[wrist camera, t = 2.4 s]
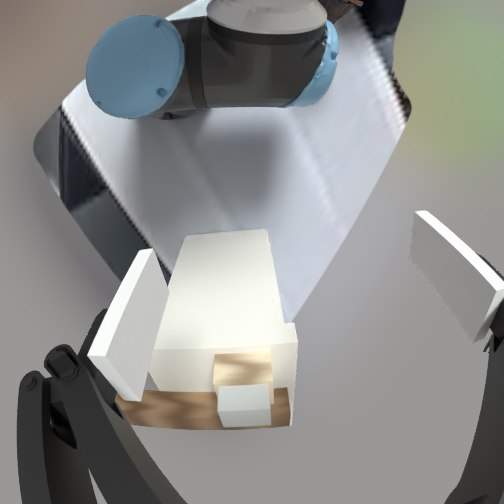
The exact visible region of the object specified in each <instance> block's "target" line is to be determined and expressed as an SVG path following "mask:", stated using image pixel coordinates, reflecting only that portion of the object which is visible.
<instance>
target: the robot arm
mask: <svg viewBox="0 0 504 504" xmlns="http://www.w3.org/2000/svg"><path fill="white" fill-rule="evenodd" d="M206 12H207V16H202V17H193V18H184V19H177V20H171V21H168V20H166V19H163V18H161V17H158V16H150V15H138V16H132V17H129V18H126V19H123V20H121V21H119V22H118V23H116V24H115V25H113V26H111V27H110V28H109V29H108V30H107V31H106V32H105V33H104V34H103V35H102V36H101V37H100V39H99V41H98V43H97V44H96V45H95V46H94V47H93V49H92V51H91V54H90V55H89V58H88V62H87V66H86V85H87V89H88V92H89V95H90V97H91V99H92V100H93V102H94V103H95V105H97V106H98V107H99V108H100V109H101V110H102V111H103V112H105V113H107V114H109V115H111V116H115V117H119V118H127V119H138V118H142V117H145V116H147V115H150V116H152V117H154V118H157V119H161V120H179V119H183V118H186V117H189V116H192V115H194V114H195V113H197V112H199V111H200V110H202V109H203V108H220V107H278V108H286V107H290V106H309V105H312V104H314V103H316V102H318V101H319V100H320V99H321V98H322V97H323V96H324V95H325V93H326V92H327V90H328V88H329V87H330V85H331V82H332V80H333V77H334V74H335V71H336V67H337V62H336V56H337V54H338V52H339V41H338V35H337V31H336V29H335V27H334V25H333V24H332V23H331V22H330V21H329V20H327V12H326V10H325V8H324V7H323V6H322V5H321V4H320V3H319V2H318V1H317V0H211V1H210V2H209V3H208V5H207V8H206ZM409 259H410V260H411V261H412V262H413V264H414V265H415V266H416V267H417V268H418V270H419V271H420V272H421V273H422V275H423V276H424V277H425V278H426V280H427V281H428V282H429V283H430V285H431V286H432V287H433V289H434V290H435V291H436V293H437V294H438V295H439V296H440V298H441V299H442V301H443V302H444V303H445V305H446V306H447V307H448V309H449V310H450V312H451V313H452V314H453V316H454V317H455V319H456V320H457V321H458V323H459V324H460V326H461V327H462V329H463V330H464V332H465V333H466V335H467V336H468V338H469V339H470V341H471V342H472V343H475V342H477V341H479V340H481V339H483V338H484V337H485V336H486V333H487V332H488V330H489V328H490V329H491V330H492V332H493V334H492V335H491V337H490V339H489V341H488V343H487V345H486V346H485V348H484V352H486V350H487V348H488V347H489V346H490V349H489V352H488V353H489V361H488V369H487V377H486V384H485V390H484V396H483V401H482V407H481V411H480V416H479V420H478V425H477V429H476V433H475V436H474V440H473V444H472V447H471V450H470V454H469V457H468V460H467V463H466V466H465V468H464V471H463V474H462V477H461V479H460V482H459V483H458V485H457V487H456V488H455V489H454V490H453V491H452V492H451V494H450V495H449V497H448V498H447V500H446V502H445V503H444V504H504V277H503V276H502V275H501V274H500V273H499V272H498V271H496V269H495V268H494V267H493V266H492V265H491V264H490V263H489V262H488V261H487V260H486V259H485V258H484V257H482V256H481V255H479V254H477V253H475V252H474V251H473V250H472V249H470V248H469V247H468V246H467V245H466V244H465V243H464V242H463V241H462V240H461V239H459V238H458V237H457V236H456V235H455V234H454V233H452V232H451V231H450V230H449V229H448V228H447V227H446V226H444V225H443V224H442V223H441V222H440V221H438V220H437V219H436V218H435V217H434V216H432V215H431V214H430V213H429V212H427V211H416V212H414V222H413V229H412V237H411V244H410V250H409ZM169 294H170V292H169V289H168V287H167V284H166V282H165V279H164V276H163V274H162V271H161V268H160V266H159V263H158V260H157V257H156V254H155V251H154V249H153V248H151V249H145V250H139V252H138V254H137V256H136V258H135V259H134V261H133V263H132V265H131V267H130V268H129V270H128V272H127V274H126V276H125V278H124V280H123V281H122V283H121V285H120V287H119V289H118V291H117V293H116V295H115V297H114V299H113V301H112V303H111V305H110V307H109V309H103V310H102V311H101V312H100V313H99V314H98V315H97V316H96V318H95V320H94V322H93V324H92V328H90V330H89V332H88V335H87V336H86V338H85V341H84V343H83V345H82V347H81V349H80V351H79V353H78V356H77V355H76V353H75V352H74V351H73V349H72V348H71V347H70V346H69V345H66V344H62V345H59V346H56V347H55V348H53V349H52V350H51V351H50V352H49V353H48V354H47V356H46V358H45V360H44V367H45V368H46V370H47V371H48V372H49V373H50V374H51V375H52V376H53V377H49V378H44V376H42V374H41V373H40V372H39V371H36V370H35V371H31V372H29V373H27V374H26V375H25V376H24V377H23V379H22V381H21V382H20V386H19V395H18V410H17V459H18V473H19V483H20V491H21V498H22V504H97V501H96V497H95V494H94V490H93V486H92V482H91V478H90V474H89V470H90V472H91V474H92V476H93V478H94V480H95V482H96V484H97V485H98V488H99V490H100V491H101V493H102V495H103V496H104V499H105V500H106V502H107V504H187V503H186V502H185V501H184V500H183V498H182V497H181V496H180V495H179V493H178V492H177V491H176V490H175V488H174V487H173V486H172V485H171V483H170V482H169V481H168V480H167V478H166V477H165V476H164V475H163V473H162V472H161V470H160V469H159V468H158V466H157V465H156V463H155V462H154V461H153V459H152V458H151V457H150V455H149V453H148V452H147V450H146V449H145V448H144V446H143V444H142V443H141V441H140V440H139V438H138V437H137V435H136V434H135V432H134V430H133V429H132V427H131V425H130V424H129V422H128V420H127V419H126V417H125V415H124V413H123V412H122V410H121V408H120V406H119V404H118V403H117V402H116V401H115V397H116V394H117V393H118V394H119V395H120V396H121V397H122V399H123V400H127V401H141V399H142V395H143V390H144V386H145V382H146V378H147V373H148V370H149V366H150V362H151V358H152V354H153V350H154V346H155V342H156V339H157V335H158V331H159V328H160V324H161V321H162V317H163V314H164V310H165V307H166V304H167V300H168V297H169ZM50 421H51V424H50ZM88 468H89V470H88Z"/></svg>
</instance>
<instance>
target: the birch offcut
mask: <svg viewBox="0 0 504 504" xmlns="http://www.w3.org/2000/svg"><path fill="white" fill-rule="evenodd" d="M255 384H268V386H269V398H270V404H274V391H273V374H272V365H271V355H270V351H260V352H246V353H230V354H215V358H214V372H213V386H214V389H215V392H216V395H217V398H218V386H239V385H255Z"/></svg>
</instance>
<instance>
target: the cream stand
mask: <svg viewBox="0 0 504 504" xmlns="http://www.w3.org/2000/svg"><path fill="white" fill-rule="evenodd" d="M168 289H169V292H170V294H169V297H168V300H167V304H166V307H165V310H164V314H163V317H162V321H161V324H160V328H159V331H158V335H157V339H156V342H155V346H154V350H153V354H152V358H151V362H150V366H149V370H148V371H149V373H150V375H151V377H152V379H153V380H154V382H155V384H156V386H157V387H158V389H159V391H171V392H215V389H214V386H213V372H214V358H215V354H230V353H246V352H260V351H270V355H271V365H272V374H273V389H275V388H285V387H287V389H288V396H289V403H290V411H291V417H290V426H291V425H292V415H293V404H294V393H295V379H296V365H297V348H298V340H297V335H296V330H295V325H294V323H285V324H284V320H283V314H282V308H281V302H280V297H279V291H278V286H277V280H276V274H275V269H274V263H273V258H272V253H271V247H270V242H269V237H268V231H267V228H264V229H252V230H240V231H228V232H216V233H205V234H195V235H186V236H185V239H184V242H183V245H182V247H181V250H180V253H179V256H178V259H177V261H176V264H175V267H174V270H173V273H172V276H171V279H170V282H169V285H168ZM188 430H189V429H188ZM241 430H242V429H241Z"/></svg>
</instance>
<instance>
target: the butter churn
mask: <svg viewBox="0 0 504 504" xmlns="http://www.w3.org/2000/svg"><path fill="white" fill-rule="evenodd" d="M317 1H318V2H319V3H320V4H321V5H322V6H323V7H324V8H325V10H326V12H327V20H329V21H330V22H331V23H332V24H334V23H335V22H336V21H337V20H338V19H339V18H341V17H342V16H343V15H345V14H346V13H347V12H348V11H349V10H350V9H351V8H352V7H353V6H354V5H357V6H359V7H361V6H362V5H363V2H362V1H358V0H317Z"/></svg>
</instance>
